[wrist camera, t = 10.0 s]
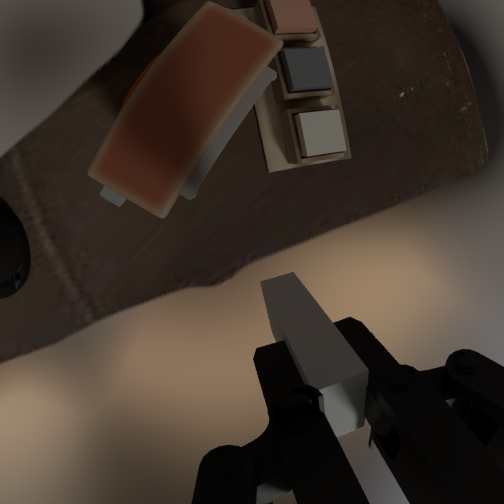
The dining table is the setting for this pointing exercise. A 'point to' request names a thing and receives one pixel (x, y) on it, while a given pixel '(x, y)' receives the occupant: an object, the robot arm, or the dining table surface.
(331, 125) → the ivory key
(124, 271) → the dining table surface
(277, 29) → the terracotta key
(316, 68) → the graphite key
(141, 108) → the terracotta and grey box
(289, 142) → the keypad board
